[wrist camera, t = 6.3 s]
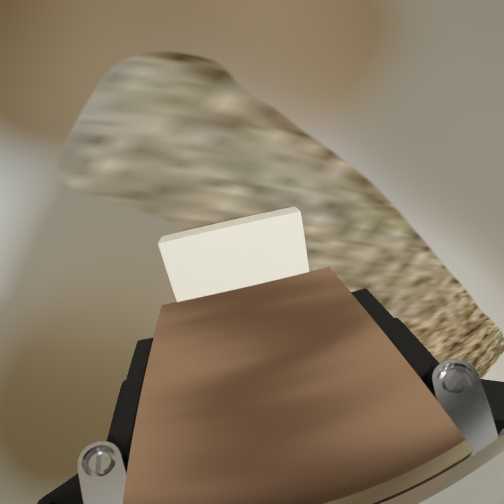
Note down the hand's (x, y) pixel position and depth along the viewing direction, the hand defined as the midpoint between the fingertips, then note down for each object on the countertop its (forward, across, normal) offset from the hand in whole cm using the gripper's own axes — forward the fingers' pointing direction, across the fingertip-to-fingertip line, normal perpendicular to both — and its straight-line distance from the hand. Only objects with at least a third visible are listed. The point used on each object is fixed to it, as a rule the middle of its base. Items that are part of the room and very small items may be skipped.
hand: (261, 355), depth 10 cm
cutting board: (+18, 0, +6) cm, 19 cm away
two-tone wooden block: (+2, 0, 0) cm, 2 cm away
